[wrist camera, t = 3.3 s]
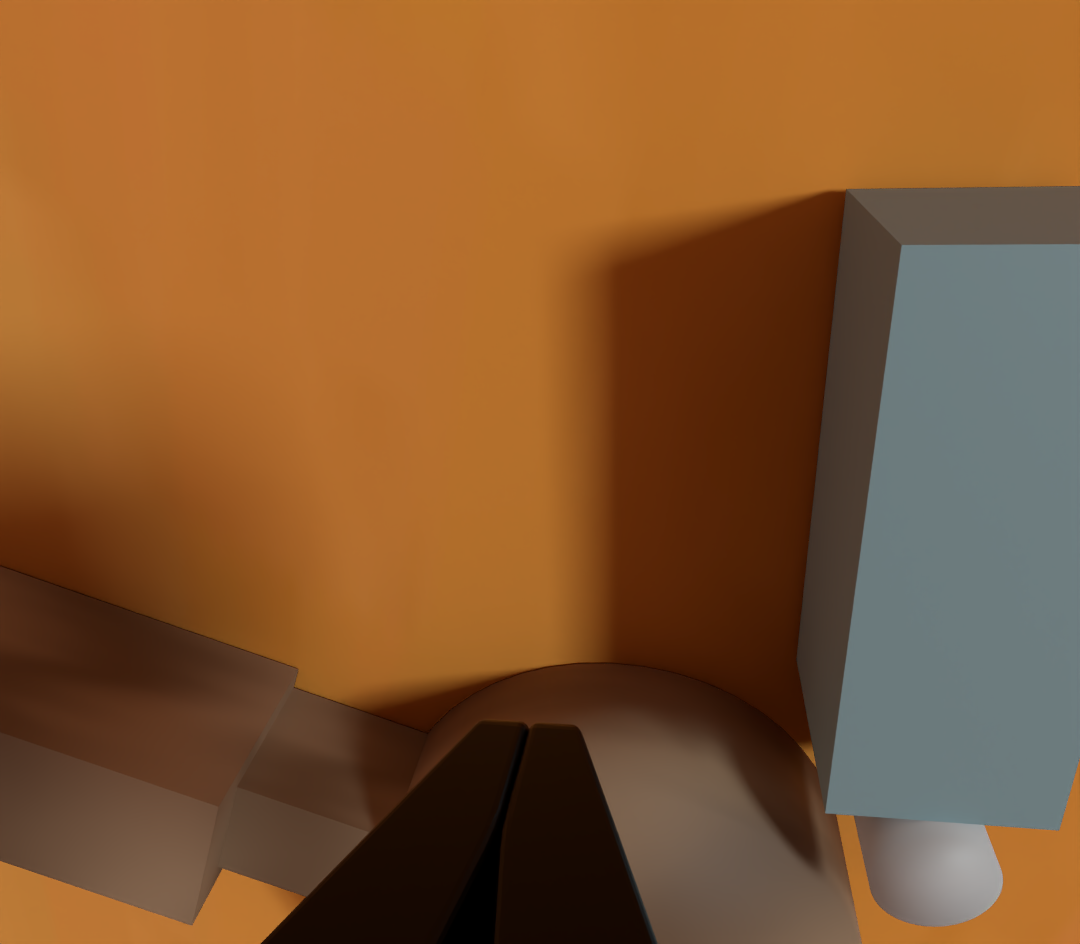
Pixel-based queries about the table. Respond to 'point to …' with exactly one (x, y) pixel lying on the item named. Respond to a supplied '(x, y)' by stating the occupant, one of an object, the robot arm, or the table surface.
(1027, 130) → the table surface
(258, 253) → the table surface
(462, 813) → the robot arm
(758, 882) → the wooden three-arm spinner
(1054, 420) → the grey long block
